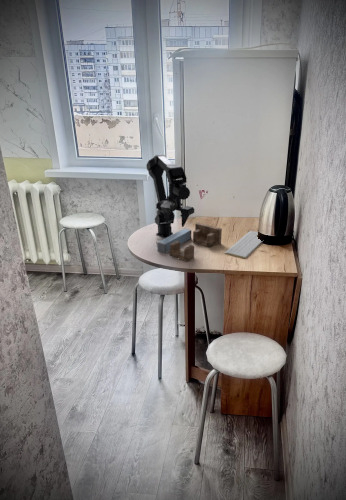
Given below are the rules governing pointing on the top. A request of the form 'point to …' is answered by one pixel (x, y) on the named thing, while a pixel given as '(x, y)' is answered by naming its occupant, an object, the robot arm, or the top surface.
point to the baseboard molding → (244, 245)
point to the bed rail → (173, 240)
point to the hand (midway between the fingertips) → (175, 224)
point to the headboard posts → (197, 241)
